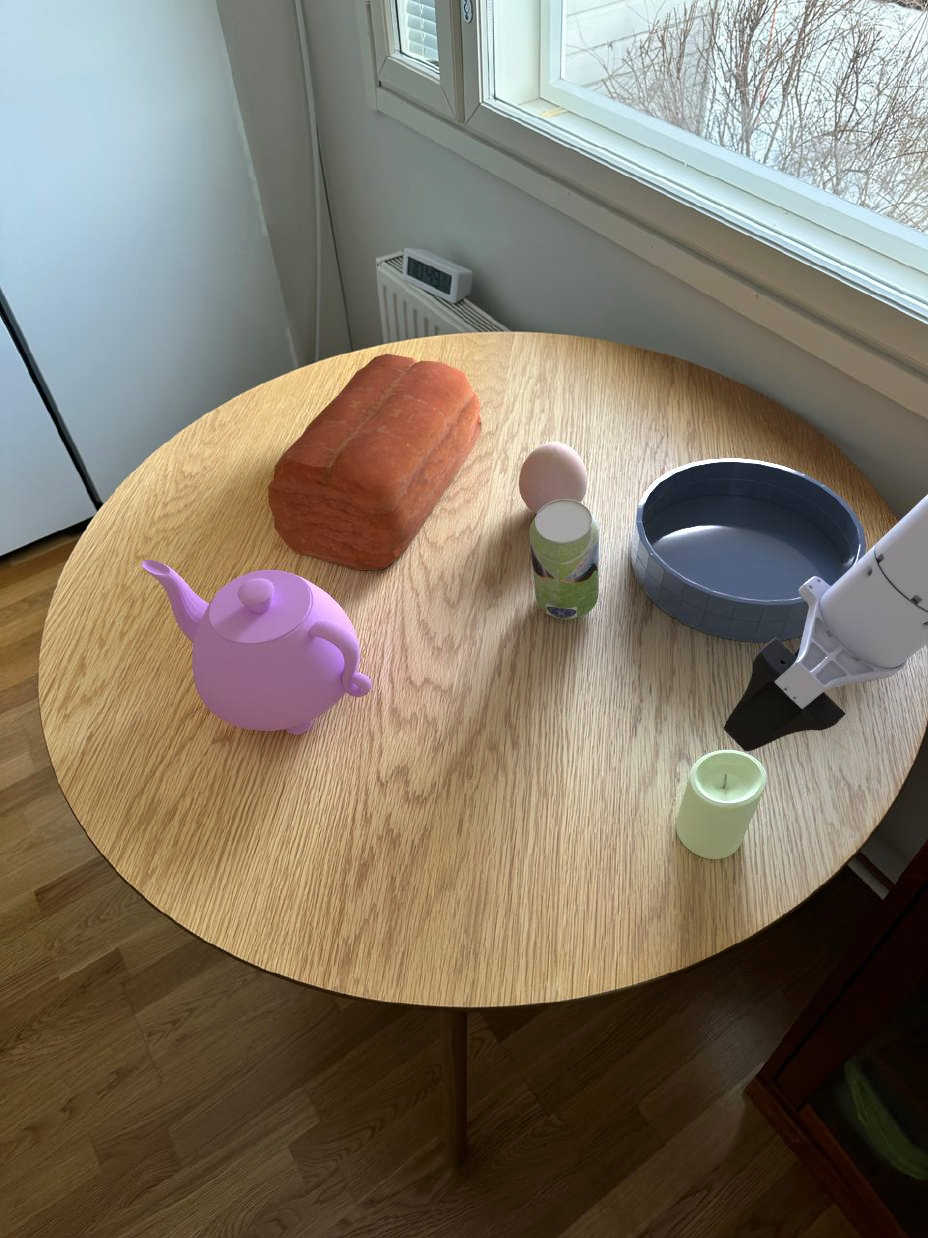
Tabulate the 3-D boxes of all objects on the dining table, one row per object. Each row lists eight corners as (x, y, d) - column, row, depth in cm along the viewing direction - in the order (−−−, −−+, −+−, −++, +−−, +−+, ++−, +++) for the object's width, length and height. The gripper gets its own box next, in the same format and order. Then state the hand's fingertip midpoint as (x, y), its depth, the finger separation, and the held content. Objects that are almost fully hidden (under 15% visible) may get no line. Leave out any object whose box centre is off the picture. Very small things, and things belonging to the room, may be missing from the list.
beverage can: (605, 590, 81) (617, 494, 72) (580, 642, 76) (590, 546, 67) (545, 573, 83) (550, 477, 74) (517, 623, 78) (519, 527, 69)
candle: (668, 846, 62) (685, 790, 56) (683, 792, 65) (701, 733, 59) (735, 869, 61) (761, 814, 55) (747, 813, 64) (772, 754, 58)
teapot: (139, 711, 73) (86, 615, 63) (228, 603, 81) (193, 505, 72) (337, 782, 67) (310, 688, 58) (410, 657, 76) (397, 558, 66)
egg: (597, 504, 89) (603, 440, 83) (562, 541, 86) (566, 477, 79) (541, 482, 92) (543, 418, 86) (505, 516, 89) (505, 453, 83)
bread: (491, 435, 99) (490, 354, 91) (397, 582, 82) (386, 499, 75) (376, 411, 103) (365, 333, 96) (264, 547, 87) (240, 465, 79)
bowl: (838, 506, 88) (853, 468, 84) (860, 656, 74) (879, 619, 70) (637, 486, 91) (643, 449, 88) (622, 626, 77) (628, 589, 74)
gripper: (905, 495, 50) (768, 630, 60) (807, 566, 41) (663, 712, 50) (1001, 576, 48) (843, 702, 58) (921, 670, 39) (747, 802, 48)
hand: (764, 712), depth 54 cm, fingers open, 7 cm apart
